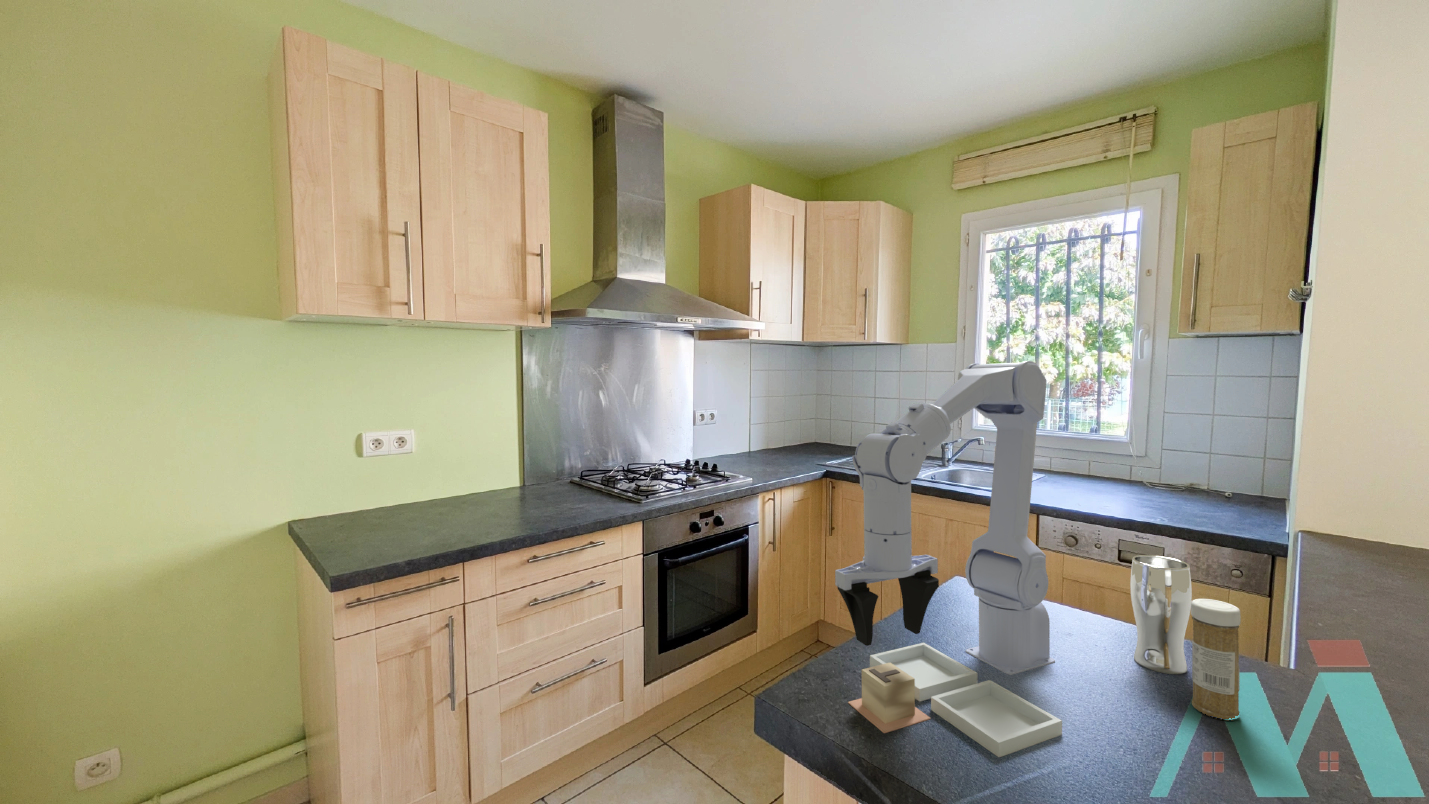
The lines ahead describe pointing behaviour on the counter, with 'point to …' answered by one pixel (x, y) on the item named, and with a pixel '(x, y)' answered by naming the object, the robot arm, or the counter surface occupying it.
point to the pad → (889, 726)
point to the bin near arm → (928, 669)
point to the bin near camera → (996, 717)
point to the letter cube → (888, 692)
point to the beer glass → (1161, 611)
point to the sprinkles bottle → (1215, 658)
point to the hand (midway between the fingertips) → (888, 636)
